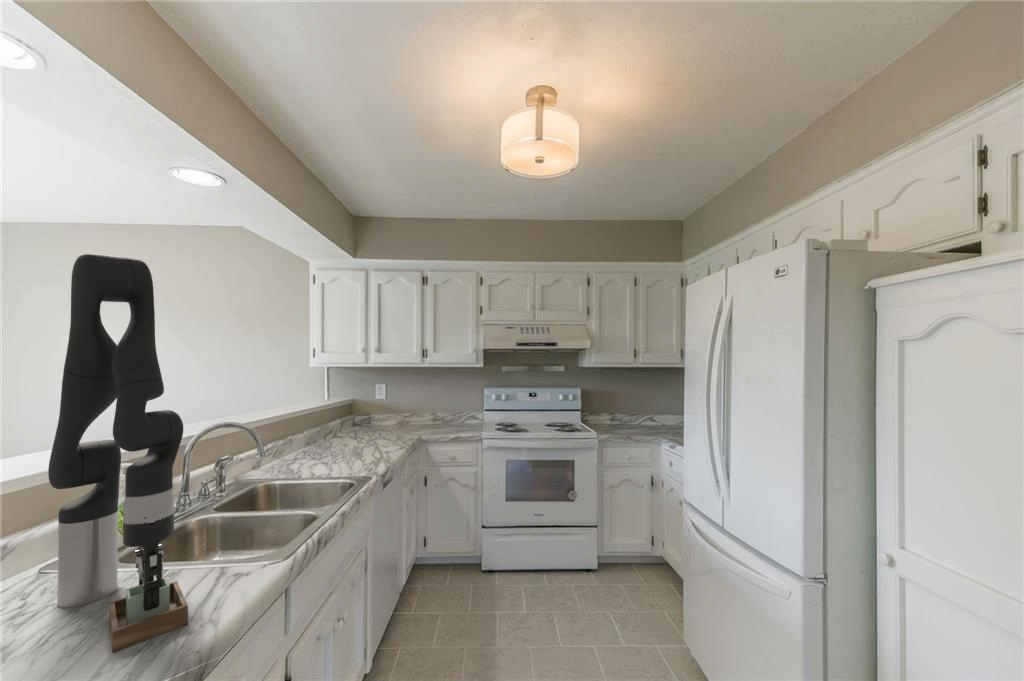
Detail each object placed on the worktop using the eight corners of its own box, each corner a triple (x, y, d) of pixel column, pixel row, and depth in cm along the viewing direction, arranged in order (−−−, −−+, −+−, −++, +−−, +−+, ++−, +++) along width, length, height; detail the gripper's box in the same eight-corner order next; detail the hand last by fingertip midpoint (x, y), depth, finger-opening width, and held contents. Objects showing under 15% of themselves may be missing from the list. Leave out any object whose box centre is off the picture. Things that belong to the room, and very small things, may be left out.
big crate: (109, 620, 82) (109, 602, 82) (176, 597, 90) (176, 580, 90) (112, 652, 73) (112, 632, 73) (187, 624, 80) (187, 605, 80)
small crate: (125, 621, 81) (126, 589, 81) (166, 607, 85) (166, 576, 85) (127, 632, 77) (127, 599, 78) (169, 617, 82) (169, 585, 82)
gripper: (120, 511, 84) (119, 594, 84) (126, 530, 74) (125, 624, 74) (168, 501, 90) (168, 579, 89) (179, 518, 80) (179, 605, 79)
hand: (148, 599), depth 81 cm, fingers open, 8 cm apart
